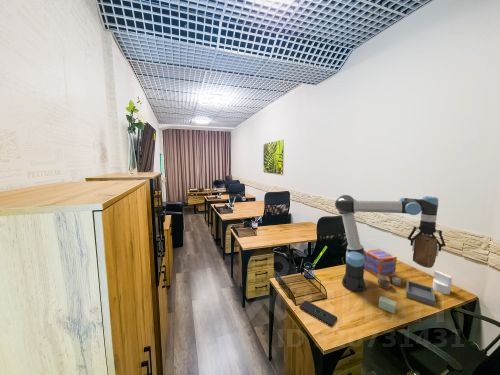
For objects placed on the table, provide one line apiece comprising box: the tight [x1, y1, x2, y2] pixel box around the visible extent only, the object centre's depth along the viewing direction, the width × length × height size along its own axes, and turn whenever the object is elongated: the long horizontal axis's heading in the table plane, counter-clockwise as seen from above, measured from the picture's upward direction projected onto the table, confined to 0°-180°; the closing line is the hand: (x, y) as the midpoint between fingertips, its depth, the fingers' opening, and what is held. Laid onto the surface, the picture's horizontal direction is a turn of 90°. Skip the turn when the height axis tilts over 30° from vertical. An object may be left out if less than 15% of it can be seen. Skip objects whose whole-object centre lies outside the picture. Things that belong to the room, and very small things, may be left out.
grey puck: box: [391, 276, 402, 287], centre depth 146 cm, size 5×5×4 cm
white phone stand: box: [432, 270, 453, 295], centre depth 138 cm, size 9×9×12 cm
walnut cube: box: [377, 275, 391, 290], centre depth 144 cm, size 6×6×6 cm
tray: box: [405, 279, 436, 307], centre depth 134 cm, size 14×17×4 cm
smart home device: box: [298, 300, 338, 327], centre depth 117 cm, size 8×2×20 cm
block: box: [412, 234, 438, 269], centre depth 130 cm, size 11×8×20 cm
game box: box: [364, 248, 397, 278], centre depth 161 cm, size 16×16×16 cm
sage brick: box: [378, 295, 397, 314], centre depth 121 cm, size 8×5×5 cm, turn 46°
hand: (424, 252), depth 130 cm, fingers closed on block, 11 cm apart
